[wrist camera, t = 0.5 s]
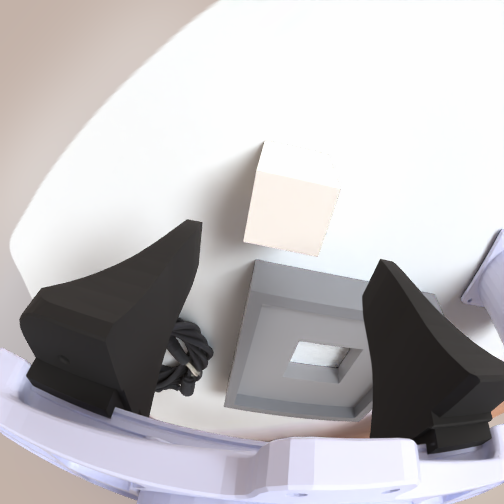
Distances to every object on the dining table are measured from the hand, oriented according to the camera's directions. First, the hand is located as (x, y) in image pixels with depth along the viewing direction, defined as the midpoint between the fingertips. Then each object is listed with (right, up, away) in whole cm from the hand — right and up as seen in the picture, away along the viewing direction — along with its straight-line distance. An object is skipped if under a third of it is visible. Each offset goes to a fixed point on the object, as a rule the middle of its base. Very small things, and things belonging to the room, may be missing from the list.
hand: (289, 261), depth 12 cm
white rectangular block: (+1, +5, +7) cm, 9 cm away
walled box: (+5, -9, +17) cm, 20 cm away
